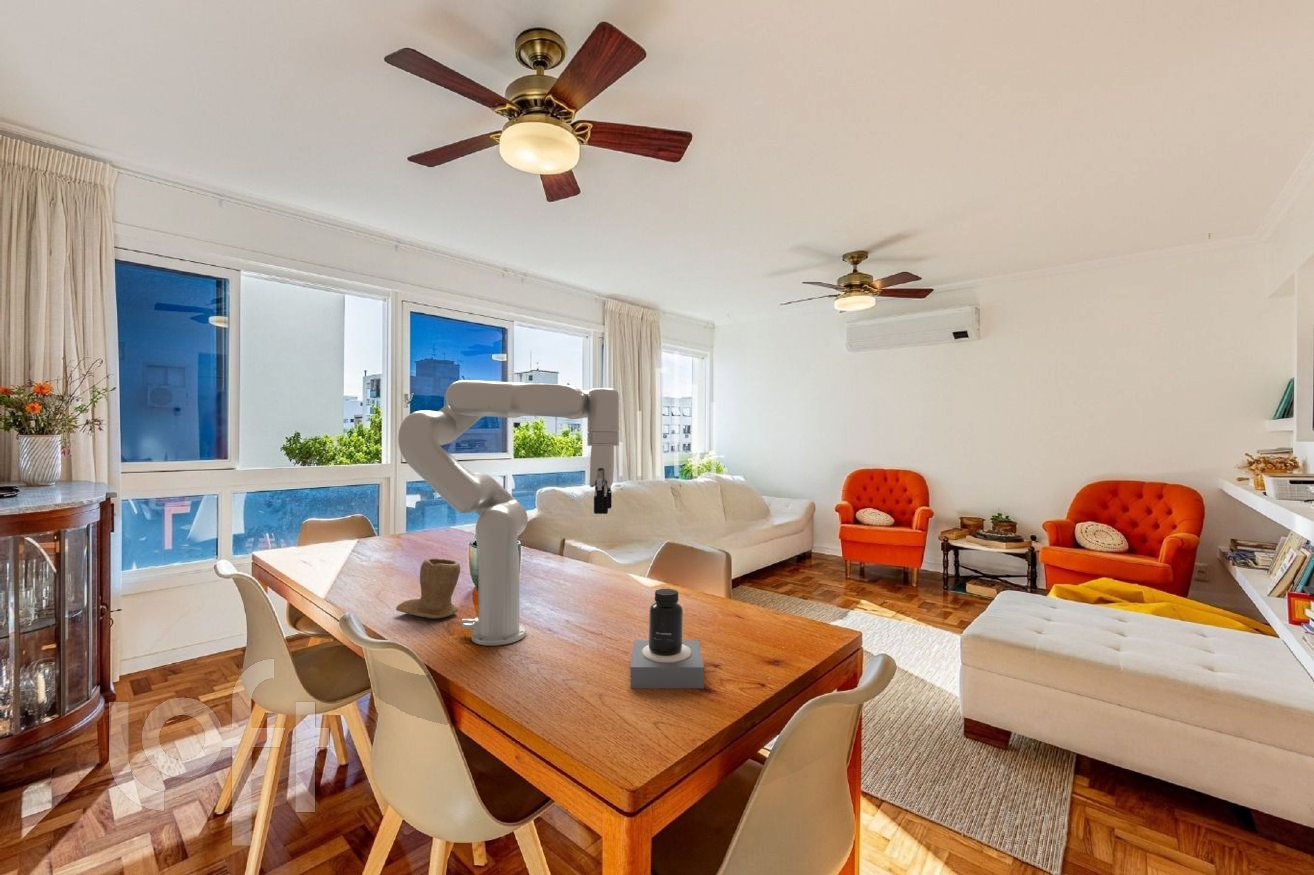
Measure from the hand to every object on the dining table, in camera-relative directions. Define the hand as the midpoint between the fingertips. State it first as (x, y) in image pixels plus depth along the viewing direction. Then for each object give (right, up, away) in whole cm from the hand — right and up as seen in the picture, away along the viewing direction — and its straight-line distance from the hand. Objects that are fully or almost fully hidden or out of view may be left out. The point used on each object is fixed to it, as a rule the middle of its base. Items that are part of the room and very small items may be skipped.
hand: (603, 510), depth 131 cm
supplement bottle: (+15, -26, -20) cm, 36 cm away
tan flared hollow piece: (-48, -31, +17) cm, 59 cm away
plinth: (+15, -30, -20) cm, 39 cm away
